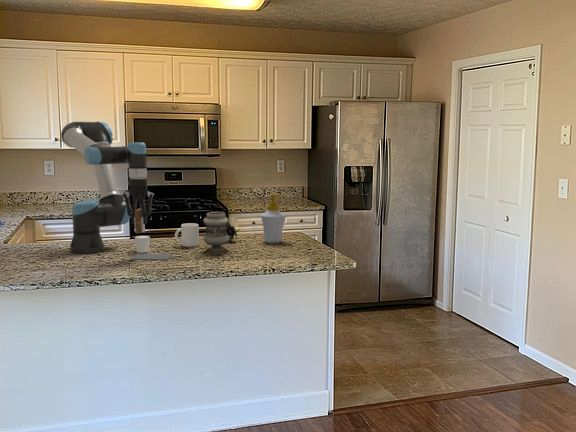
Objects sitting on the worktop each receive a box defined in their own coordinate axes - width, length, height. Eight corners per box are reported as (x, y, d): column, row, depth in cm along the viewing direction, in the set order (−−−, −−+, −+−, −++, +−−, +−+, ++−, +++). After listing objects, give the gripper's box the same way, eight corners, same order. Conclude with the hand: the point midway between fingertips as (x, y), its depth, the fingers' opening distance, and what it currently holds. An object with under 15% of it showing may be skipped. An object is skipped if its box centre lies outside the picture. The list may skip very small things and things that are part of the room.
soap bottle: (285, 244, 283) (285, 195, 279) (259, 244, 283) (259, 195, 279) (285, 239, 296) (286, 192, 292) (261, 239, 296) (261, 192, 292)
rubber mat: (130, 259, 248) (130, 258, 248) (136, 254, 257) (136, 253, 257) (167, 260, 248) (167, 259, 248) (172, 254, 258) (172, 254, 257)
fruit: (212, 246, 291) (239, 238, 296) (215, 247, 281) (244, 238, 285) (206, 227, 291) (234, 219, 295) (209, 227, 281) (238, 218, 285)
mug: (178, 248, 272) (177, 227, 270) (171, 245, 279) (171, 224, 277) (201, 245, 278) (201, 225, 276) (194, 243, 285) (194, 222, 283)
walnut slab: (135, 233, 248) (134, 210, 246) (139, 230, 254) (138, 208, 252) (140, 233, 248) (139, 210, 246) (144, 230, 254) (143, 208, 252)
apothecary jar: (198, 250, 267) (197, 212, 264) (218, 246, 276) (217, 210, 273) (215, 254, 259) (214, 215, 256) (234, 250, 268) (234, 212, 265)
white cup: (153, 250, 266) (152, 235, 265) (144, 253, 260) (144, 238, 259) (140, 249, 269) (140, 234, 268) (132, 252, 262) (131, 237, 261)
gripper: (117, 178, 243) (120, 232, 247) (153, 178, 244) (155, 233, 247) (122, 177, 251) (124, 229, 254) (157, 177, 251) (159, 230, 254)
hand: (139, 231), depth 251 cm, fingers closed on walnut slab, 2 cm apart
